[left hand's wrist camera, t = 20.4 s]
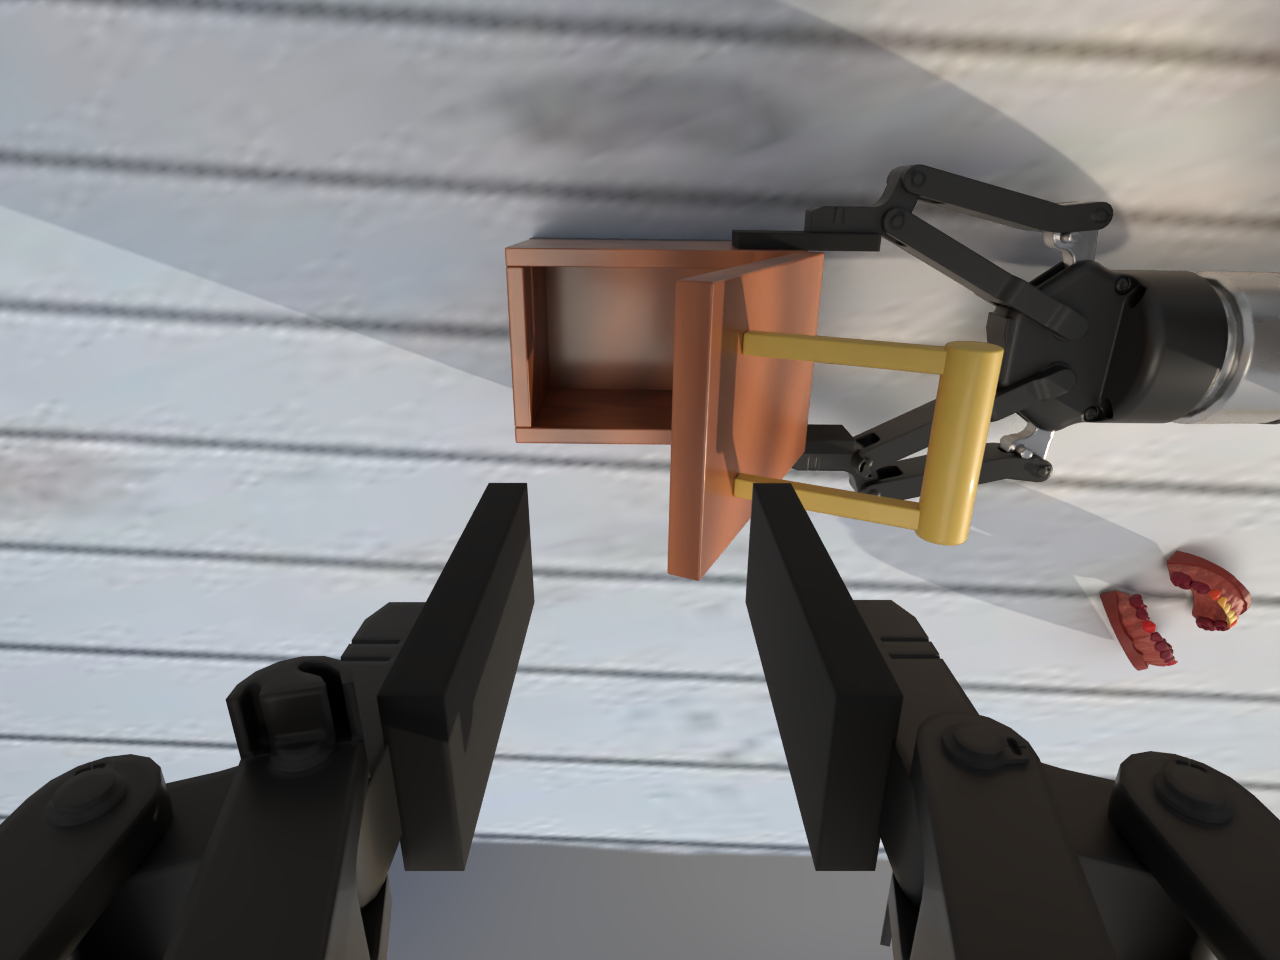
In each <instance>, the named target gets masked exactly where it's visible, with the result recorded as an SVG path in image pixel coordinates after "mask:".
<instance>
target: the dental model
mask: <svg viewBox="0 0 1280 960" xmlns="http://www.w3.org/2000/svg"><path fill="white" fill-rule="evenodd" d="M1167 562H1168V564H1167V567H1168V570H1169V575H1170V580H1171V581H1172V583H1173V584H1174V585H1175V586H1179V587H1180V588H1182V589H1191V590H1192V592H1193V595H1194V605H1193V610H1192V615H1193V617H1195V618H1196V624H1197V626H1198V627H1199V628H1203V629H1204V630H1210V631H1215V630H1217V631H1220V630H1221V631H1226V630H1229V629H1230V628H1231V627H1232V626H1234V625H1235V624H1236V623H1237V620H1238V618H1239V615H1241V614H1243V613H1244V612H1245V611H1246V610H1247V609H1248V608H1249V607H1250V602H1251V596H1250V593H1249V591H1248V590H1247V589H1246V588H1245V587H1244V585H1243V584H1242V583H1240V582H1239V581H1238V580H1237V579H1236V578H1235V577H1234V576H1233V575H1232V574H1231V573H1229V572H1228V571H1226V570H1225V569H1223V568H1221V567H1220V566H1218V565H1216V564H1214V563H1212V562H1210V561H1208V560H1205V559H1203V558H1201V557H1198V556H1195V555H1192V554H1188V553H1184V552H1180V551H1176V552H1175V553H1174V554H1173V555H1172V556H1171V558H1170V559H1169V560H1168V561H1167ZM1100 597H1101V600H1102V603H1103V606H1104V608H1105V611H1106V613H1107V616H1108V618H1109V621H1110V623H1111V626H1112V628H1113V630H1114V632H1115V634H1116V636H1117V639H1118V640H1119V642H1120V644H1121V646H1122V648H1123V650H1124V652H1125V654H1126V655H1127V657H1128V659H1129V660H1130V662H1131V663H1132V665H1133V666H1134V667H1135V668H1136V669H1137V670H1138V671H1139V670H1143V669H1147V668H1148V665H1149V664H1151V665H1156V666H1170V665H1174V664H1176V663H1177V662H1178V661H1175V657H1174V656H1173V650H1172V646H1171V645H1170V644H1169V643H1167V642H1166V639H1165V638H1162V637H1161V635H1160V634H1159V633H1158V632H1155V629H1156V625H1155V624H1154V623H1153V622H1151V621H1149V620H1150V618H1149V617H1148V613H1147V611H1146V610H1145V609H1147V606H1146V605H1144V604H1143V600H1142V597H1141V595H1139V594H1135V595H1133V596H1131V595H1129V594H1126V593H1122V592H1119V591H1111V592H1108V593H1104V594H1101V595H1100ZM1153 632H1154V633H1153Z"/></svg>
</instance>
